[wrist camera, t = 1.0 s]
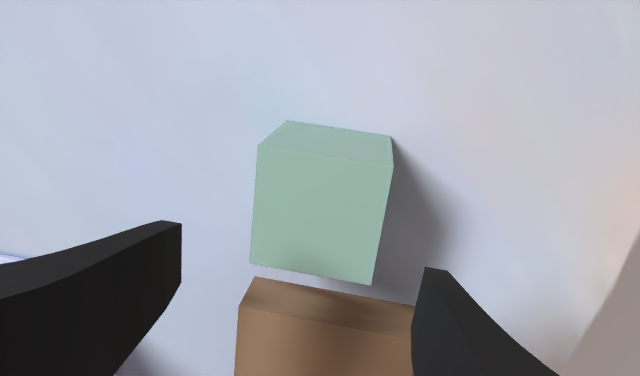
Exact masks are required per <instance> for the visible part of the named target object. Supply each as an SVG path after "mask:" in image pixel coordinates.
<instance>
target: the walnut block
mask: <svg viewBox="0 0 640 376" xmlns="http://www.w3.org/2000/svg"><path fill="white" fill-rule="evenodd" d="M415 307H416V306H411V305H405V304H400V303H394V302H389V301H384V300H378V299H373V298H368V297H362V296H357V295H352V294H346V293H341V292H336V291H330V290H325V289H320V288H314V287H309V286H304V285H298V284H293V283H288V282H282V281H277V280H272V279H266V278H261V277H254V279H253V280H252V282H251V284H250V286H249V288H248V290H247V292H246V294H245V296H244V297H243V299H242V301H241V303H240V305H239V310H238V325H237V340H236V355H235V370H234V376H412V374H413V368H412V360H411V324H412V319H413V315H414V311H415Z"/></svg>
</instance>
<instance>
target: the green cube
mask: <svg viewBox="0 0 640 376" xmlns="http://www.w3.org/2000/svg"><path fill="white" fill-rule="evenodd" d="M393 169H394V163H393V153H392V143H391V136H385V135H378V134H371V133H365V132H358V131H352V130H345V129H338V128H332V127H325V126H318V125H312V124H305V123H299V122H292V121H286V122H285V123H283V124H282V125H281V126H280V127H279V128H278V129H276V130H275V131H274V132H273V133H272V134H271V135H269V136H268V137H267V138H266V139H265V140H264V141H262V142H261V143H260V144H259V145H258V151H257V165H256V178H255V192H254V206H253V220H252V234H251V247H250V261H249V263H250V264H256V265H261V266H266V267H272V268H277V269H283V270H288V271H294V272H299V273H305V274H310V275H316V276H321V277H327V278H332V279H338V280H343V281H348V282H354V283H359V284H365V285H370V286H371V282H372V277H373V272H374V267H375V261H376V256H377V251H378V246H379V241H380V236H381V230H382V225H383V220H384V215H385V210H386V205H387V199H388V194H389V189H390V184H391V179H392V174H393Z"/></svg>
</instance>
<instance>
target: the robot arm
mask: <svg viewBox="0 0 640 376" xmlns="http://www.w3.org/2000/svg"><path fill="white" fill-rule="evenodd" d="M181 249H182V224H181V223H175V222H170V221H164V220H161V221H156V222H152V223H148V224H145V225H142V226H139V227H135V228H132V229H129V230H126V231H123V232H120V233H117V234H114V235H111V236H108V237H105V238H102V239H99V240H96V241H93V242H89V243H86V244H83V245H79V246H76V247H73V248H69V249H66V250H62V251H59V252H55V253H51V254H47V255H43V256H38V257H34V258H29V259H24V258H19V257H14V256H8V255H3V254H0V376H116V371H117V370H118V369H119V367H120V366H121V365H122V364H123V363H124V361H125V360H126V359H127V358H128V356H129V355H130V354H131V353H132V351H133V350H134V349H135V348H136V346H137V345H138V344H139V343H140V341H141V340H142V339H143V338H144V336H145V335H146V334H147V333H148V331H149V330H150V329H151V328H152V326H153V325H154V324H155V323H156V321H157V320H158V319H159V317H160V316H161V315H162V314H163V312H164V311H165V310H166V308H167V306H168V305H169V303H170V301H171V300H172V298H173V296H174V295H175V293H176V291H177V289H178V287H179V286H180V284H181ZM411 360H412V368H413V375H414V376H559V375H558V374H556V373H555V372H554V371H552V370H551V369H550V368H548V367H547V366H546V365H544V364H543V363H542V362H541V361H539V360H538V359H537V358H536V357H534V356H533V355H532V354H531V353H529V352H528V351H527V350H526V349H524V348H523V347H522V346H521V345H520V344H518V343H517V342H516V341H515V340H514V339H513V338H512V337H511V336H510V335H508V334H507V333H506V332H505V331H504V330H503V329H502V328H501V327H500V326H499V325H498V324H497V323H496V322H495V321H494V320H493V319H492V318H491V317H490V316H489V315H488V314H487V313H486V312H485V311H484V310H483V309H482V308H481V307H480V306H479V305H478V304H477V303H476V302H475V301H474V299H473V298H472V297H471V296H470V295H469V294H468V293H467V292H466V291H465V289H464V288H463V287H462V286H461V285H460V284H459V283H458V282H457V281H456V279H455V278H454V277H453V276H452V275H451V274H450V273H449V272H448V271H445V270H440V269H434V268H429V267H425V270H424V274H423V278H422V282H421V286H420V291H419V295H418V299H417V303H416V307H415V311H414V315H413V319H412V324H411Z"/></svg>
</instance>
